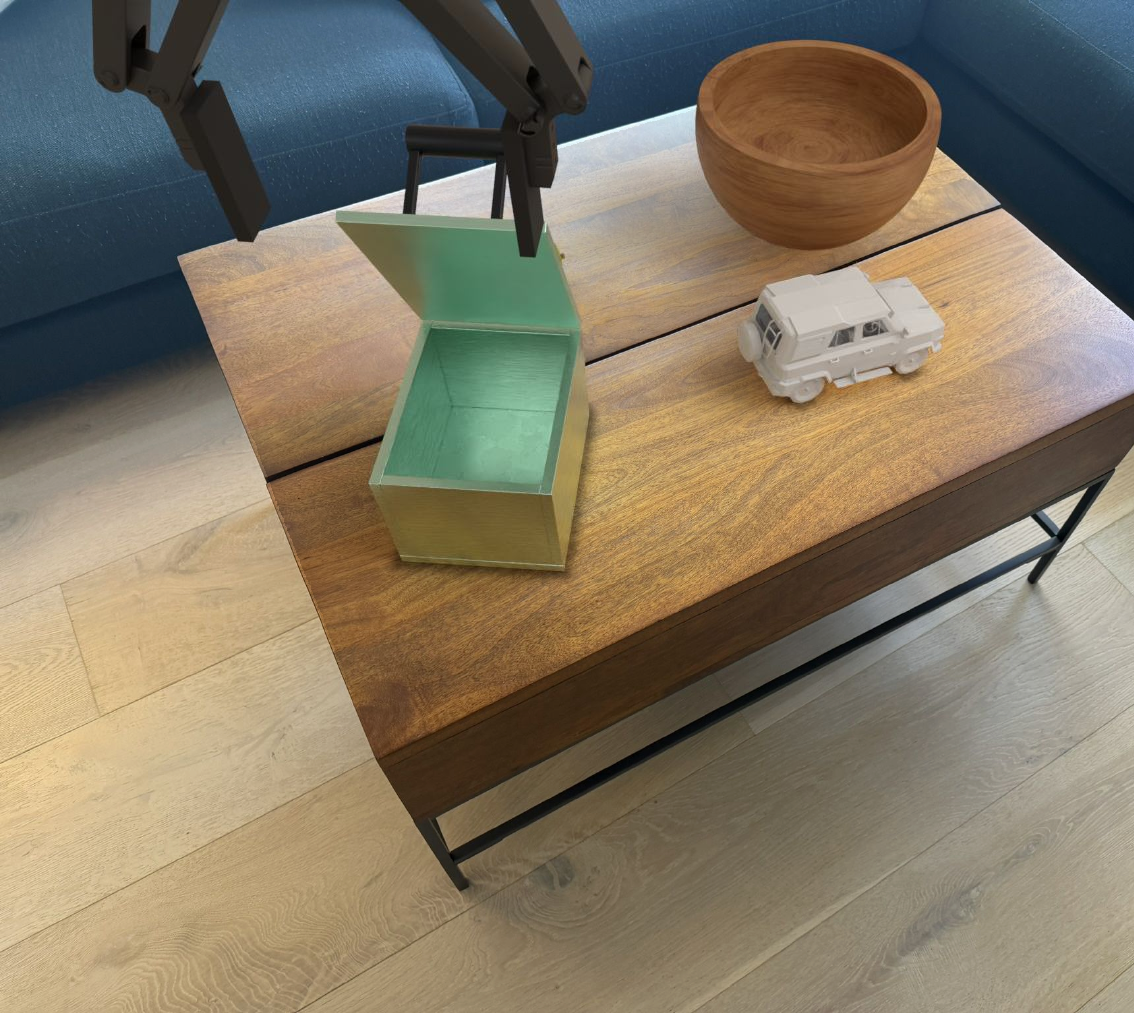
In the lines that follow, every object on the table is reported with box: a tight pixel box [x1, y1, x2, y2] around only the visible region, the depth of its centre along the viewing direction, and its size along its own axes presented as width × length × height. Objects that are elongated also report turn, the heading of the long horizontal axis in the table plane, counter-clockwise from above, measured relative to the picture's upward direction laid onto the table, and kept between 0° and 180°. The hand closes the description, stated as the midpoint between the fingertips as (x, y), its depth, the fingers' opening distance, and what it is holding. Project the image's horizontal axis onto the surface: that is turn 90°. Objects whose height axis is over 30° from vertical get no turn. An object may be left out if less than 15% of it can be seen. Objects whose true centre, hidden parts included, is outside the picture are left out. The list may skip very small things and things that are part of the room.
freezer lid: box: [334, 123, 582, 329], centre depth 68 cm, size 19×14×8 cm
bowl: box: [694, 39, 942, 251], centre depth 97 cm, size 25×25×15 cm
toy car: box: [736, 261, 946, 404], centre depth 86 cm, size 10×20×10 cm, turn 111°
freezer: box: [368, 320, 590, 572], centre depth 76 cm, size 18×14×11 cm
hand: (393, 232), depth 44 cm, fingers open, 13 cm apart
